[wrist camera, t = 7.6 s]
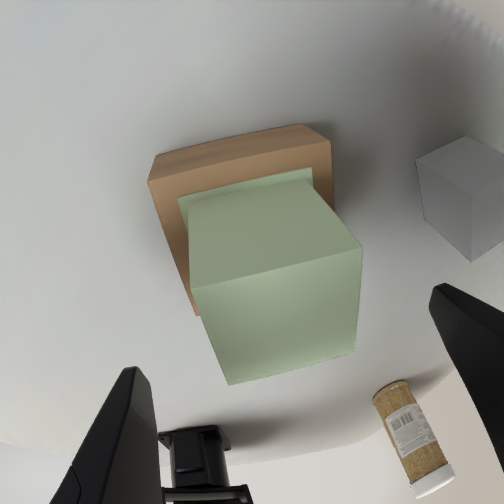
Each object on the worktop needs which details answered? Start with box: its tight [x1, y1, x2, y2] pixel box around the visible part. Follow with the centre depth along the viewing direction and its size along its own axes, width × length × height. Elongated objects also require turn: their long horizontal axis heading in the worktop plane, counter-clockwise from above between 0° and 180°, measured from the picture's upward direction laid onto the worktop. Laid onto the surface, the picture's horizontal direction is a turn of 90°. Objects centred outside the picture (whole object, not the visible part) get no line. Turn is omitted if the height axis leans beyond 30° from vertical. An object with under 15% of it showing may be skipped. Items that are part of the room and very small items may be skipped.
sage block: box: [188, 178, 363, 385], centre depth 11 cm, size 4×4×5 cm
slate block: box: [415, 136, 504, 262], centre depth 16 cm, size 4×4×5 cm
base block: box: [147, 124, 335, 316], centre depth 15 cm, size 7×7×4 cm
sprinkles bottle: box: [373, 381, 455, 498], centre depth 26 cm, size 5×5×13 cm
